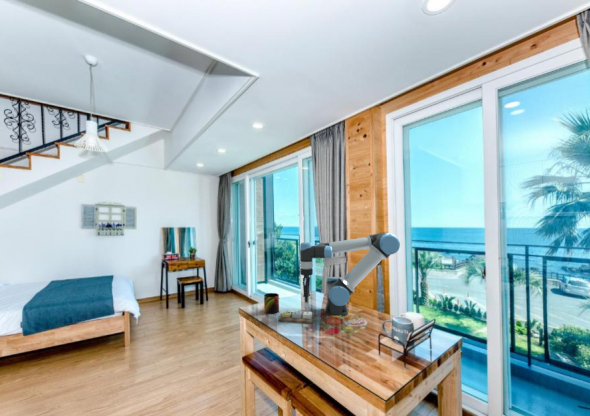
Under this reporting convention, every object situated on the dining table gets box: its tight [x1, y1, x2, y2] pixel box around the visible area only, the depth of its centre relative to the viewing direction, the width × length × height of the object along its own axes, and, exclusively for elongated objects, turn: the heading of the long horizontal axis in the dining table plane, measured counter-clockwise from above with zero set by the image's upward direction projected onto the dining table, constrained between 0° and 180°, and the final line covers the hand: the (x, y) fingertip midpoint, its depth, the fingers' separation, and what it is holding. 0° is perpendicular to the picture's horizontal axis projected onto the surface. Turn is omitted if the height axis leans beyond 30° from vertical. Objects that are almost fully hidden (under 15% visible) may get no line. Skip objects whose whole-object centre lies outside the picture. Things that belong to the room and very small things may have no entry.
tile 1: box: [281, 310, 293, 318], centre depth 162 cm, size 5×5×4 cm
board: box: [277, 310, 316, 325], centre depth 161 cm, size 20×14×2 cm
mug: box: [263, 292, 280, 315], centre depth 175 cm, size 10×14×12 cm
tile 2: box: [303, 311, 313, 319], centre depth 160 cm, size 5×5×4 cm
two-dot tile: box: [292, 310, 303, 318], centre depth 161 cm, size 5×5×4 cm
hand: (306, 307), depth 160 cm, fingers closed
